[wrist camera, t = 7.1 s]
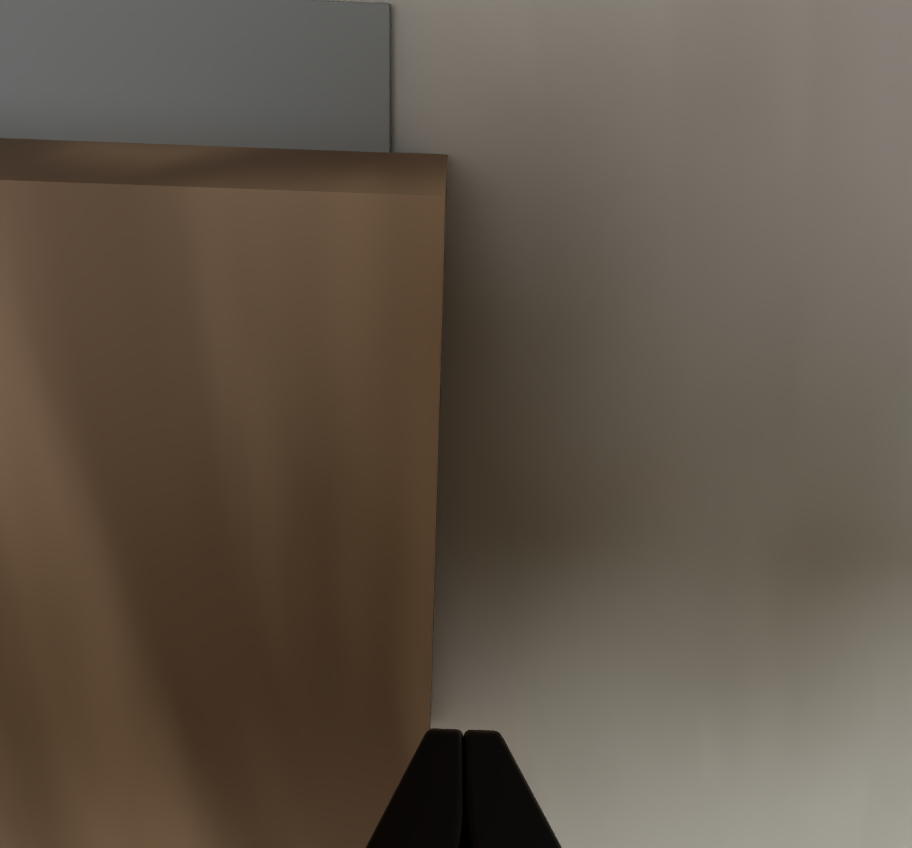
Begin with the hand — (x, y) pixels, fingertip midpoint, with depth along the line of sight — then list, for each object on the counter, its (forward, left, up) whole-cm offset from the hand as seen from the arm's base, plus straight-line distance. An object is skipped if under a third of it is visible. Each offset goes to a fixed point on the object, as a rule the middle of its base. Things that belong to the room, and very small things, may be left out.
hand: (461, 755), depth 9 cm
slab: (0, 0, -4) cm, 4 cm away
